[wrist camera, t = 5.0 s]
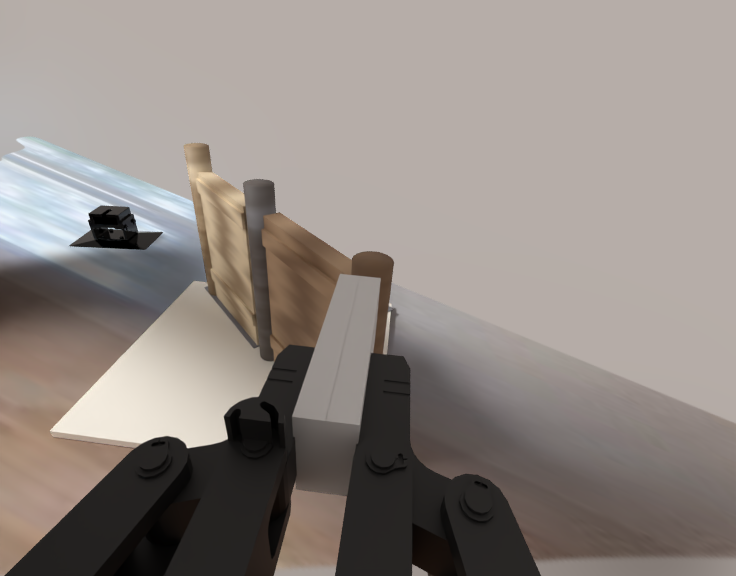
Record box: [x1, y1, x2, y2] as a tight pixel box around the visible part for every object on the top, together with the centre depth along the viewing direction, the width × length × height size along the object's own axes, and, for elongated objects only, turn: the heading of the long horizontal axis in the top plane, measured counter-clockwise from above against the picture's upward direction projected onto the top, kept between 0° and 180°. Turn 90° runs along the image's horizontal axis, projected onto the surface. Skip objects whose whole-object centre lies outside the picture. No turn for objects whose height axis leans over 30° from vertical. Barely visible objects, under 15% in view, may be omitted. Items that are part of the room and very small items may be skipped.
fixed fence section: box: [184, 143, 276, 362], centre depth 34 cm, size 14×2×15 cm, turn 39°
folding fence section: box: [261, 213, 394, 362], centre depth 25 cm, size 11×2×14 cm, turn 39°
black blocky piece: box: [70, 206, 163, 250], centre depth 51 cm, size 12×7×5 cm, turn 92°
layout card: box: [50, 281, 393, 448], centre depth 34 cm, size 22×20×1 cm
